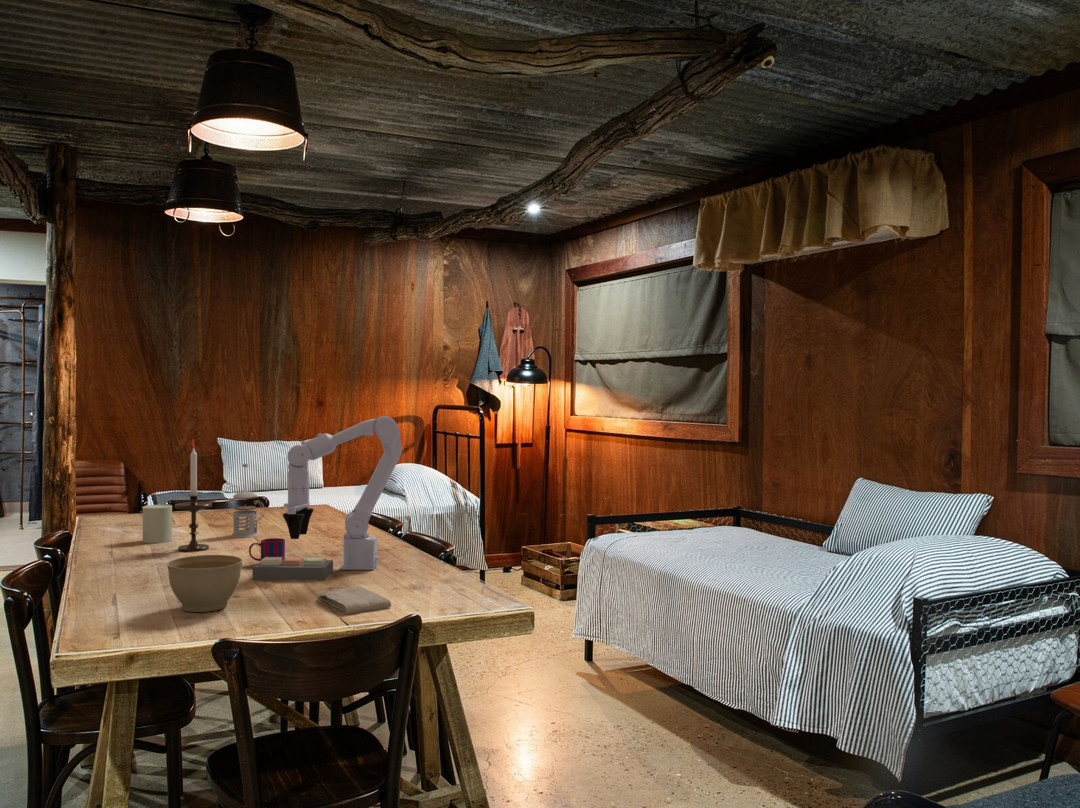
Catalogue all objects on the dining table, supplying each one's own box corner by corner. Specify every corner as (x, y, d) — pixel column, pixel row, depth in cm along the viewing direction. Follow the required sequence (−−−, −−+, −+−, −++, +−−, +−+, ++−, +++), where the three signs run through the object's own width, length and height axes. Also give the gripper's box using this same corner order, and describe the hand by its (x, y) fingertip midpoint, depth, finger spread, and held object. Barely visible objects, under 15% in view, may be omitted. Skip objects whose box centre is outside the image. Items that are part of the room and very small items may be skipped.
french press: (238, 532, 307) (238, 462, 307) (269, 533, 306) (269, 462, 305) (224, 537, 298) (224, 464, 297) (256, 538, 296) (257, 464, 296)
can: (178, 540, 291) (178, 504, 291) (153, 544, 283) (153, 507, 283) (161, 537, 296) (161, 502, 296) (136, 541, 288) (136, 505, 288)
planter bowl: (167, 620, 190) (167, 570, 190) (167, 603, 205) (167, 557, 205) (245, 613, 196) (245, 564, 196) (239, 597, 211) (239, 552, 211)
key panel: (333, 572, 241) (333, 560, 241) (324, 580, 231) (324, 567, 231) (264, 572, 241) (264, 559, 241) (252, 579, 231) (252, 567, 231)
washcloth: (359, 595, 216) (359, 582, 216) (393, 609, 202) (393, 596, 202) (313, 601, 209) (313, 589, 209) (345, 617, 195) (345, 603, 195)
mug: (285, 564, 251) (285, 541, 251) (249, 567, 248) (249, 543, 248) (283, 560, 258) (283, 537, 257) (248, 562, 254) (248, 539, 254)
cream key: (281, 565, 238) (281, 557, 238) (277, 568, 233) (277, 560, 233) (265, 565, 238) (265, 557, 238) (260, 568, 233) (260, 560, 233)
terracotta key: (303, 565, 238) (303, 557, 238) (299, 568, 233) (299, 560, 233) (287, 565, 238) (287, 557, 238) (283, 568, 233) (283, 560, 233)
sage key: (325, 565, 238) (325, 557, 238) (321, 568, 233) (321, 560, 233) (309, 565, 238) (309, 557, 238) (305, 568, 233) (305, 560, 233)
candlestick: (195, 553, 268) (195, 439, 267) (167, 551, 271) (167, 438, 271) (219, 547, 278) (219, 438, 278) (191, 545, 281) (191, 437, 281)
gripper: (291, 485, 251) (291, 532, 251) (276, 491, 236) (276, 540, 237) (316, 485, 251) (316, 532, 251) (302, 491, 236) (302, 540, 237)
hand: (298, 536), depth 244 cm, fingers open, 7 cm apart
